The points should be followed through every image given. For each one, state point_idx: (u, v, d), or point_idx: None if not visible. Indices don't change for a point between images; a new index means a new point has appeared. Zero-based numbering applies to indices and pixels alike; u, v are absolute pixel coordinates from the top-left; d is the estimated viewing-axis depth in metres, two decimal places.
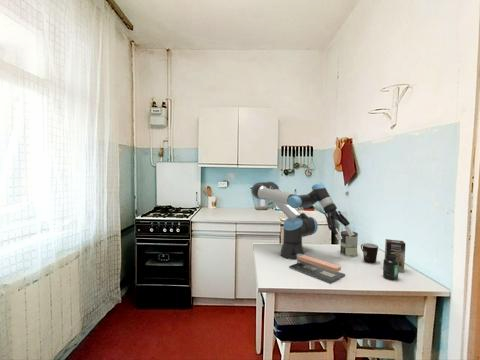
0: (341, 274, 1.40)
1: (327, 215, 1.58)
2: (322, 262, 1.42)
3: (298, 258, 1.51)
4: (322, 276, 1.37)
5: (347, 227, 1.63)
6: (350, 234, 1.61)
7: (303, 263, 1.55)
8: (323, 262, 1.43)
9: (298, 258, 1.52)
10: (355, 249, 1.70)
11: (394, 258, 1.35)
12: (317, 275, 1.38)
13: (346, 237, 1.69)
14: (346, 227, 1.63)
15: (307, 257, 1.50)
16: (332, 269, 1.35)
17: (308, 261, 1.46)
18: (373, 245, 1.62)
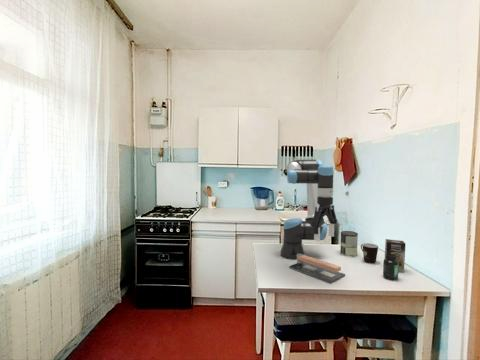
0: (341, 274, 1.40)
1: (317, 209, 1.30)
2: (322, 262, 1.42)
3: (298, 258, 1.51)
4: (322, 276, 1.37)
5: (331, 226, 1.39)
6: (330, 234, 1.40)
7: (303, 263, 1.55)
8: (323, 262, 1.43)
9: (298, 258, 1.52)
10: (355, 249, 1.70)
11: (394, 258, 1.35)
12: (317, 275, 1.38)
13: (346, 237, 1.69)
14: (330, 225, 1.40)
15: (307, 257, 1.50)
16: (332, 269, 1.35)
17: (308, 261, 1.46)
18: (373, 245, 1.62)
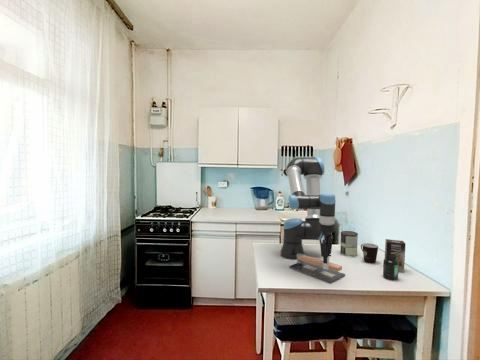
0: (341, 274, 1.40)
1: (322, 242, 1.33)
2: None
3: (298, 258, 1.51)
4: (322, 276, 1.37)
5: None
6: None
7: (303, 263, 1.55)
8: None
9: (298, 258, 1.52)
10: (355, 249, 1.70)
11: (394, 258, 1.35)
12: (317, 275, 1.38)
13: (346, 237, 1.69)
14: None
15: (307, 257, 1.50)
16: (334, 268, 1.36)
17: (309, 261, 1.47)
18: (373, 245, 1.62)
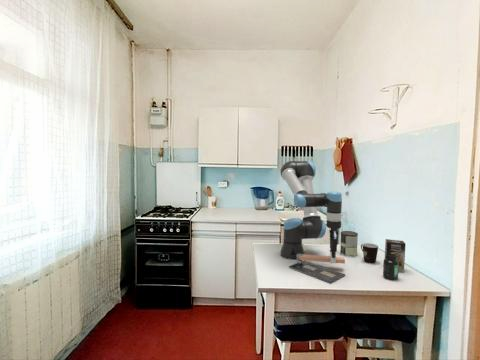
0: (341, 274, 1.40)
1: (335, 238, 1.40)
2: (326, 257, 1.50)
3: (301, 258, 1.51)
4: (322, 276, 1.37)
5: None
6: None
7: (303, 263, 1.55)
8: (326, 256, 1.51)
9: (300, 258, 1.51)
10: (355, 249, 1.70)
11: (394, 258, 1.35)
12: (317, 275, 1.38)
13: (346, 237, 1.69)
14: None
15: (309, 255, 1.52)
16: (340, 261, 1.46)
17: (313, 259, 1.50)
18: (373, 245, 1.62)
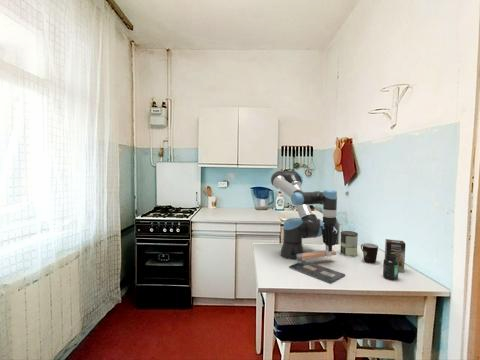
0: (341, 274, 1.40)
1: (336, 233, 1.51)
2: (321, 252, 1.59)
3: (303, 258, 1.52)
4: (322, 276, 1.37)
5: None
6: None
7: (303, 263, 1.55)
8: (320, 251, 1.60)
9: (302, 258, 1.52)
10: (355, 249, 1.70)
11: (394, 258, 1.35)
12: (317, 275, 1.38)
13: (346, 237, 1.69)
14: None
15: (307, 254, 1.55)
16: (333, 253, 1.59)
17: (313, 256, 1.54)
18: (373, 245, 1.62)
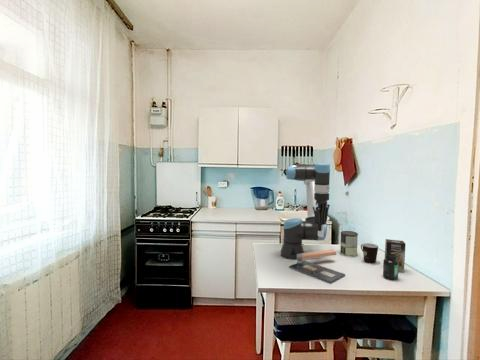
0: (341, 274, 1.40)
1: (315, 210, 1.38)
2: (321, 252, 1.59)
3: (303, 258, 1.52)
4: (322, 276, 1.37)
5: None
6: None
7: (303, 263, 1.55)
8: (320, 251, 1.60)
9: (302, 258, 1.52)
10: (355, 249, 1.70)
11: (394, 258, 1.35)
12: (317, 275, 1.38)
13: (346, 237, 1.69)
14: None
15: (307, 254, 1.55)
16: (333, 253, 1.59)
17: (313, 256, 1.54)
18: (373, 245, 1.62)
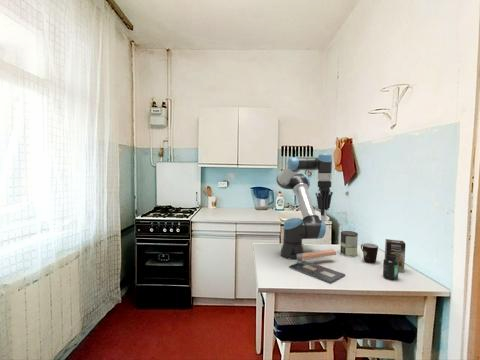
0: (341, 274, 1.40)
1: (318, 195, 1.51)
2: (321, 252, 1.59)
3: (303, 258, 1.52)
4: (322, 276, 1.37)
5: None
6: None
7: (303, 263, 1.55)
8: (320, 251, 1.60)
9: (302, 258, 1.52)
10: (355, 249, 1.70)
11: (394, 258, 1.35)
12: (317, 275, 1.38)
13: (346, 237, 1.69)
14: None
15: (307, 254, 1.55)
16: (333, 253, 1.59)
17: (313, 256, 1.54)
18: (373, 245, 1.62)
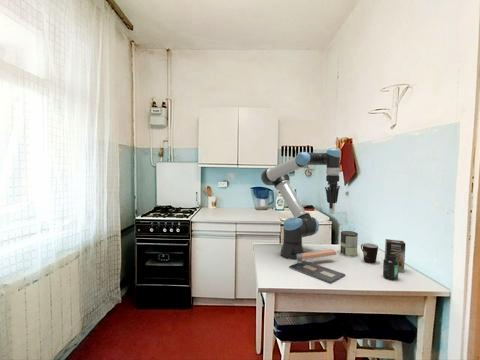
0: (341, 274, 1.40)
1: (327, 189, 1.57)
2: (321, 252, 1.59)
3: (303, 258, 1.52)
4: (322, 276, 1.37)
5: None
6: None
7: (303, 263, 1.55)
8: (320, 251, 1.60)
9: (302, 258, 1.52)
10: (355, 249, 1.70)
11: (394, 258, 1.35)
12: (317, 275, 1.38)
13: (346, 237, 1.69)
14: None
15: (307, 254, 1.55)
16: (333, 253, 1.59)
17: (313, 256, 1.54)
18: (373, 245, 1.62)
